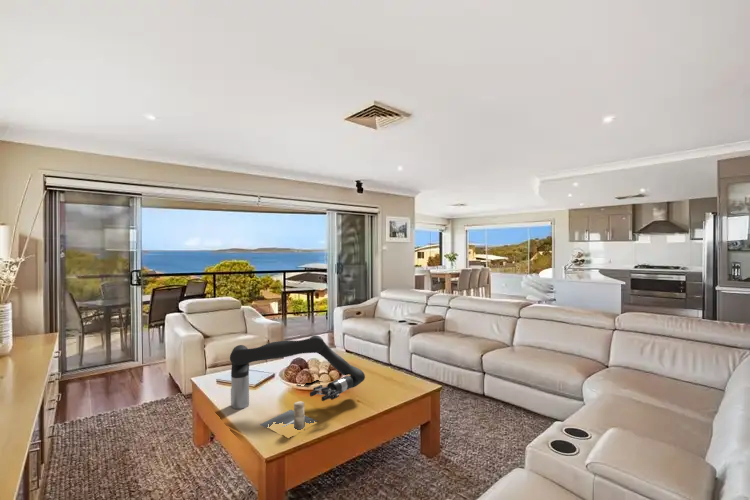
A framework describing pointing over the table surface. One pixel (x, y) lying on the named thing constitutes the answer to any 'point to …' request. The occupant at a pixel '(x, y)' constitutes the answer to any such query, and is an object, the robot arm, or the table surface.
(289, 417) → the mat
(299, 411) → the birch cylinder
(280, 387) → the table surface
